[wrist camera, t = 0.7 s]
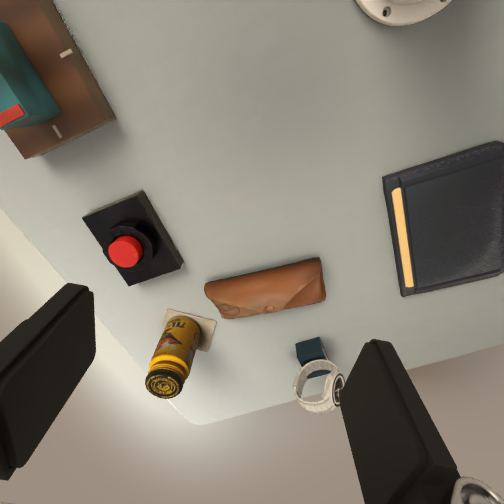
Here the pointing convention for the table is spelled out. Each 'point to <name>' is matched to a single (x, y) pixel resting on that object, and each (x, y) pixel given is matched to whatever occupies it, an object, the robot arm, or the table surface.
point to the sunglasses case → (268, 289)
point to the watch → (313, 366)
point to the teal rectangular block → (21, 87)
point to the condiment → (177, 352)
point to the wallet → (448, 219)
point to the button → (125, 251)
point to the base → (54, 77)
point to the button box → (135, 236)
